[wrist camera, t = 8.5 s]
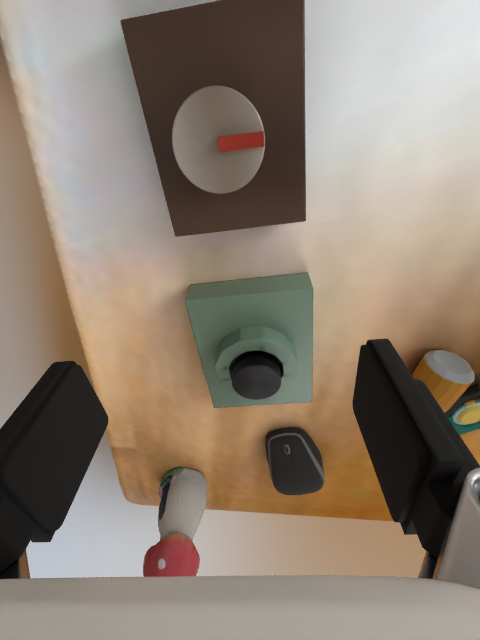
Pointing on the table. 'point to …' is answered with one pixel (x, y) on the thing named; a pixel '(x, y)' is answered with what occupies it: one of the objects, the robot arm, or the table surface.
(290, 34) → the dial panel
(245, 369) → the button
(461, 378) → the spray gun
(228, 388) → the green push button panel
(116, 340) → the table surface
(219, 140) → the dial
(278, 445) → the computer mouse
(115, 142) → the table surface
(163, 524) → the decorative ornament
